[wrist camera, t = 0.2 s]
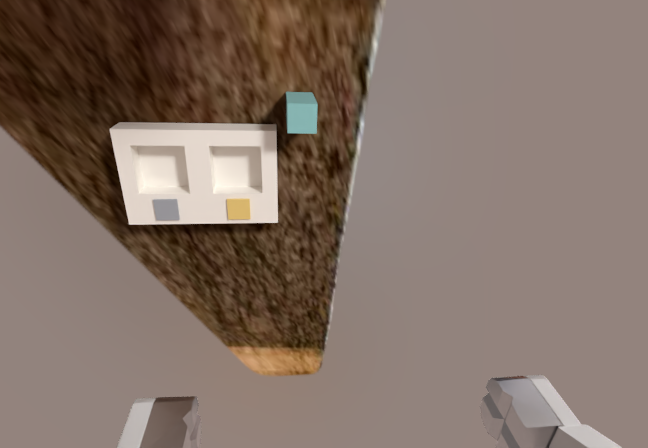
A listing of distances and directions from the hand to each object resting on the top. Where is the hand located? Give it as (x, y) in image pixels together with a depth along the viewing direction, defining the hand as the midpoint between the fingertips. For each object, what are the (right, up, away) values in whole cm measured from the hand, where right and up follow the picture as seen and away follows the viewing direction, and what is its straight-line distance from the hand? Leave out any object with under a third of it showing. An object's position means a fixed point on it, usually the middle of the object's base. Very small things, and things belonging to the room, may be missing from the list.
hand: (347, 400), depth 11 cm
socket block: (-17, +12, +45) cm, 49 cm away
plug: (-4, +20, +42) cm, 47 cm away
